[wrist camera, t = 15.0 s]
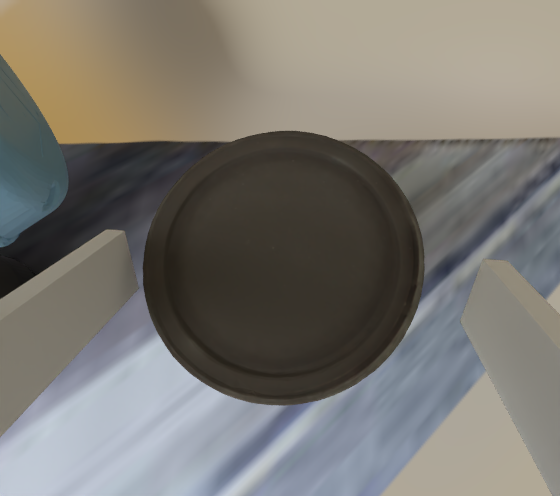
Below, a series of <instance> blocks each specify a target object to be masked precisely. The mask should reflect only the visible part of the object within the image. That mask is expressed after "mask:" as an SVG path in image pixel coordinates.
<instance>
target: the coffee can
mask: <svg viewBox="0 0 560 496" xmlns="http://www.w3.org/2000/svg"><path fill="white" fill-rule="evenodd" d="M423 279H424V249H423V242H422V236H421V232H420V229H419V225H418V222H417V219H416V217H415V215H414V212H413V210H412V208H411V206H410V204H409V202H408V200H407V198H406V197H405V195H404V193H403V192H402V190H401V189H400V188H399V186H398V185H397V184H396V182H395V181H394V180H393V179H392V177H391V176H390V175H389V174H388V173H387V172H386V171H385V170H384V169H382V168H381V167H380V166H379V165H378V164H377V163H376V162H374V161H373V160H372V159H370V158H369V157H368V156H366V155H365V154H363V153H362V152H360V151H358V150H357V149H355V148H353V147H351V146H349V145H346V144H345V143H342V142H340V141H337V140H335V139H332V138H329V137H327V136H322V135H318V134H314V133H307V132H300V131H277V132H268V133H262V134H257V135H252V136H248V137H245V138H241V139H238V140H235V141H233V142H230V143H227V144H225V145H223V146H221V147H219V148H217V149H216V150H214V151H212V152H210V153H209V154H207V155H206V156H205V157H203V158H202V159H201V160H200V161H198V162H197V163H196V164H194V165H193V166H192V167H191V168H189V169H188V170H187V171H186V172H185V173H184V174H183V176H182V177H181V178H180V179H179V180H178V181H177V182H176V183H175V185H174V186H173V187H172V188H171V189H170V191H169V192H168V194H167V195H166V196H165V198H164V199H163V201H162V203H161V204H160V206H159V208H158V210H157V212H156V214H155V216H154V218H153V221H152V224H151V227H150V230H149V233H148V237H147V241H146V245H145V252H144V261H143V286H144V292H145V298H146V302H147V306H148V310H149V313H150V316H151V319H152V321H153V324H154V326H155V328H156V330H157V332H158V334H159V336H160V337H161V339H162V341H163V342H164V344H165V346H166V347H167V348H168V350H169V351H170V353H171V354H172V356H173V357H174V358H175V359H176V360H177V361H178V362H179V363H180V364H181V365H182V366H183V367H184V368H185V369H186V370H187V371H188V372H189V373H191V374H192V375H193V376H194V377H196V378H197V379H199V380H200V381H201V382H203V383H205V384H206V385H208V386H210V387H212V388H213V389H215V390H217V391H219V392H221V393H223V394H225V395H228V396H231V397H233V398H236V399H240V400H243V401H247V402H251V403H257V404H266V405H295V404H302V403H308V402H313V401H318V400H321V399H324V398H327V397H330V396H333V395H335V394H338V393H340V392H342V391H344V390H346V389H348V388H350V387H352V386H354V385H355V384H357V383H358V382H360V381H361V380H362V379H364V378H365V377H367V376H368V375H369V374H371V373H372V372H374V371H375V370H376V369H377V368H378V367H379V366H380V365H381V364H382V363H383V362H384V361H385V360H386V359H387V358H388V357H389V356H390V355H391V353H392V352H393V351H394V350H395V348H396V347H397V346H398V344H399V343H400V342H401V340H402V339H403V337H404V335H405V334H406V332H407V330H408V328H409V326H410V324H411V322H412V320H413V317H414V315H415V313H416V310H417V308H418V304H419V301H420V297H421V292H422V286H423Z"/></svg>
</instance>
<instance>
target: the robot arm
mask: <svg viewBox="0 0 560 496" xmlns="http://www.w3.org/2000/svg"><path fill="white" fill-rule="evenodd" d="M68 184H69V180H68V170H67V166H66V162H65V159H64V156H63V154H62V151H61V149H60V146H59V144H58V142H57V140H56V138H55V136H54V134H53V132H52V130H51V128H50V127H49V125H48V123H47V121H46V120H45V118H44V116H43V115H42V113H41V111H40V110H39V108H38V106H37V105H36V103H35V102H34V100H33V99H32V97H31V96H30V95H29V93H28V91H27V90H26V89H25V87H24V86H23V84H22V83H21V81H20V80H19V79H18V77H17V76H16V74H15V73H14V72H13V71H12V69H11V68H10V66H9V65H8V64H7V62H6V61H5V60H4V59H3V57H2V56H1V55H0V247H5V246H8V245H9V244H11V243H13V242H14V241H15V240H16V239H17V238H18V237H19V236H20V233H21V232H22V231H24V230H25V229H27V228H28V227H30V226H31V225H33V224H35V223H36V222H38V221H39V220H41V219H42V218H44V217H45V216H47V215H48V214H50V213H51V212H53V211H54V210H55V209H57V208H58V207H59V206H60V204H61V203H62V202H63V200H64V198H65V196H66V194H67V191H68ZM138 289H139V287H138V283H137V279H136V275H135V271H134V267H133V263H132V259H131V255H130V251H129V247H128V243H127V239H126V234H125V231H121V230H108V229H106V230H105V231H103V232H102V233H100V234H99V235H97V236H96V237H94V238H93V239H91V240H90V241H88V242H87V243H85V244H84V245H82V246H81V247H79V248H78V249H76V250H75V251H73V252H71V253H70V254H68V255H67V256H65V257H64V258H62V259H61V260H59V261H58V262H56V263H55V264H53V265H52V266H50V267H49V268H47V269H46V270H44V271H43V272H41V273H40V274H38V275H37V276H34V274H33V273H32V272H31V271H30V270H29V269H28V268H27V267H26V266H25V265H23V264H22V263H20V262H18V261H16V260H14V259H12V258H9V257H5V256H1V255H0V437H1V436H2V435H3V434H4V433H5V432H6V431H7V429H8V428H9V427H10V426H11V425H12V424H13V423H14V422H15V421H16V420H17V419H18V418H19V417H20V416H21V414H22V413H23V412H24V411H25V410H26V409H27V408H28V407H29V406H30V405H31V404H32V403H33V402H34V400H35V399H36V398H37V397H38V396H39V395H40V394H41V393H42V392H43V391H44V390H45V389H46V388H47V387H48V385H49V384H50V383H51V382H52V381H53V380H54V379H55V378H56V377H57V376H58V375H59V374H60V373H61V372H62V370H63V369H64V368H65V367H66V366H67V365H68V364H69V363H70V362H71V361H72V360H73V359H74V358H75V356H76V355H77V354H78V353H79V352H80V351H81V350H82V349H83V348H84V347H85V346H86V345H87V344H88V343H89V341H90V340H91V339H92V338H93V337H94V336H95V335H96V334H97V333H98V332H99V331H100V330H101V329H102V327H103V326H104V325H105V324H106V323H107V322H108V321H109V320H110V319H111V318H112V317H113V316H114V315H115V314H116V312H117V311H118V310H119V309H120V308H121V307H122V306H123V305H124V304H125V303H126V302H127V301H128V300H129V299H130V297H131V296H132V295H133V294H134V293H135V292H136V291H137V290H138ZM460 322H461V324H462V326H463V328H464V330H465V332H466V334H467V336H468V337H469V339H470V341H471V343H472V345H473V347H474V349H475V351H476V352H477V354H478V356H479V358H480V360H481V362H482V364H483V366H484V368H485V369H486V371H487V373H488V375H489V377H490V379H491V381H492V382H493V384H494V386H495V388H496V390H497V392H498V394H499V396H500V398H501V399H502V401H503V403H504V405H505V407H506V409H507V411H508V413H509V415H510V416H511V418H512V420H513V422H514V424H515V426H516V428H517V429H518V431H519V433H520V435H521V437H522V439H523V441H524V443H525V445H526V447H527V449H528V450H529V452H530V454H531V456H532V458H533V460H534V462H535V463H536V465H537V467H538V469H539V471H540V473H541V475H542V477H543V479H544V480H545V482H546V484H547V486H548V488H549V490H550V492H551V494H552V496H560V315H559V313H558V312H557V311H556V310H555V309H554V308H553V307H552V306H551V305H550V304H549V303H548V302H547V301H546V300H545V299H544V298H543V297H542V296H541V295H540V294H539V293H538V292H537V291H536V290H535V289H534V288H533V287H532V286H531V285H530V284H529V283H528V282H527V281H526V279H525V278H524V277H523V276H522V275H521V274H520V273H519V272H518V271H517V270H516V269H515V268H514V267H513V266H512V265H511V264H510V263H509V262H508V261H503V260H491V259H483V260H482V263H481V266H480V268H479V271H478V274H477V277H476V279H475V282H474V285H473V287H472V290H471V293H470V296H469V298H468V301H467V304H466V306H465V309H464V312H463V315H462V317H461V320H460Z"/></svg>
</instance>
